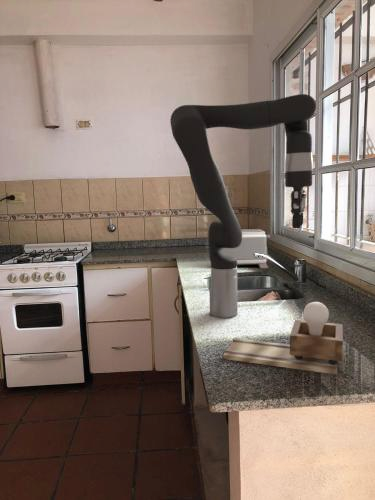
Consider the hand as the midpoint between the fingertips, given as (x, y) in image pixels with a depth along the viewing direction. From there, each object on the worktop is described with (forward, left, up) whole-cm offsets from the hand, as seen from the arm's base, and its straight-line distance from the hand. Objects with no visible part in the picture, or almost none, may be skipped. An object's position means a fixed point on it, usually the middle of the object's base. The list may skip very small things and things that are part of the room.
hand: (297, 226), depth 113 cm
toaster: (-42, +102, -33) cm, 116 cm away
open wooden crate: (+7, -18, -31) cm, 36 cm away
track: (-2, -18, -33) cm, 37 cm away
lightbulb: (+6, -17, -29) cm, 34 cm away
